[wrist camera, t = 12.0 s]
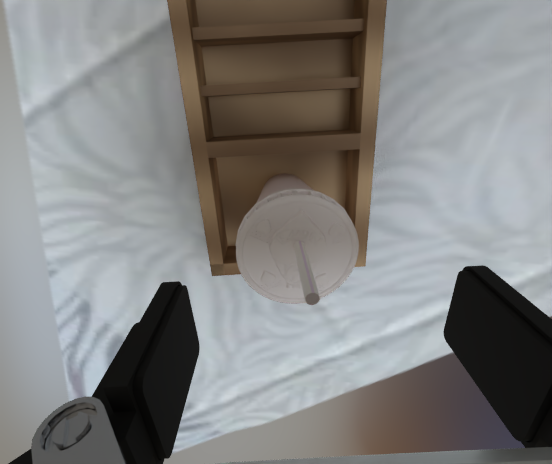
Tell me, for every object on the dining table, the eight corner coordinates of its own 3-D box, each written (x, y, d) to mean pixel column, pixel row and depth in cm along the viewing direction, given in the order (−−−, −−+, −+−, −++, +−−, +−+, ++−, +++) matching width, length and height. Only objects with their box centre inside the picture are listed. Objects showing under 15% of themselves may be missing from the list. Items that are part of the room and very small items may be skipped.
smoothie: (329, 158, 23) (415, 237, 10) (318, 234, 25) (376, 372, 13) (245, 153, 22) (223, 229, 10) (243, 231, 25) (224, 371, 12)
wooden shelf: (178, -30, 19) (157, -62, 15) (367, -40, 19) (392, -73, 15) (219, 251, 27) (212, 275, 23) (351, 243, 27) (365, 266, 23)
